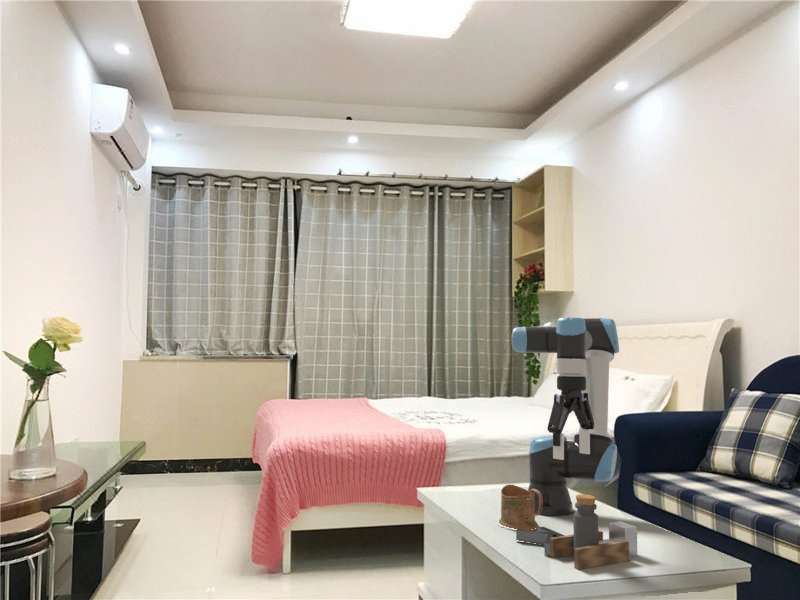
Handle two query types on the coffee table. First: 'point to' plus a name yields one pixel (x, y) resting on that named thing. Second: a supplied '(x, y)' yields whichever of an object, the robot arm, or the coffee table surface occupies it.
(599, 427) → the robot arm
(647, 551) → the coffee table surface
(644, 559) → the coffee table surface
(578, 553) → the parallel wooden rails
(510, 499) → the mug
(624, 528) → the grey stepped block
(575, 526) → the bottle
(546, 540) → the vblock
